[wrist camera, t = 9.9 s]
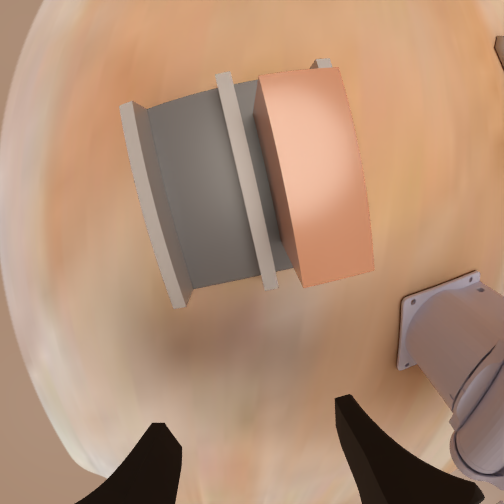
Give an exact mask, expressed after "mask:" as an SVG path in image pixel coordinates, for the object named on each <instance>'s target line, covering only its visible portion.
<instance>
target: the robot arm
mask: <svg viewBox="0 0 504 504" xmlns="http://www.w3.org/2000/svg"><path fill="white" fill-rule="evenodd" d="M413 299H414V300H413ZM412 300H413V302H411V301H412ZM416 364H417V365H418V366H419V367H420V369H421V370H422V371H423V372H424V374H425V375H426V376H427V378H428V379H429V380H430V382H431V383H432V385H433V386H434V387H435V389H436V390H437V391H438V393H439V394H440V395H441V397H442V398H443V400H444V401H445V402H446V404H447V405H448V407H449V408H450V409H451V411H452V412H453V416H452V417H451V419H450V420H449V423H450V424H451V426H452V427H453V429H454V430H455V431H454V432H453V434H452V436H451V439H450V453H451V456H452V459H453V461H454V463H455V465H456V466H457V468H458V469H459V470H460V471H461V472H462V473H463V474H464V475H466V476H467V477H469V478H471V479H474V480H478V481H486V482H489V483H491V484H493V485H495V486H496V487H498V488H499V489H500V490H504V296H502V295H501V294H499V293H498V292H496V291H494V290H493V289H491V288H490V287H488V286H486V285H485V284H483V283H482V282H480V272H478V271H474V272H471V273H469V274H466V275H464V276H462V277H459V278H456V279H454V280H451V281H449V282H446V283H443V284H441V285H438V286H435V287H433V288H430V289H427V290H424V291H421V292H419V293H416V294H413V295H410V296H407V297H405V298H404V299H403V300H402V304H401V325H400V339H399V350H398V359H397V369H398V370H400V371H401V370H404V369H406V368H409V367H411V366H414V365H416ZM335 416H336V428H337V432H338V436H339V440H340V443H341V447H342V449H343V452H344V454H345V457H346V459H347V462H348V464H349V467H350V469H351V472H352V474H353V477H354V479H355V482H356V484H357V487H358V490H359V493H360V497H361V501H362V504H479V503H481V502H482V501H483V500H484V498H485V497H484V495H483V493H482V491H481V490H480V489H479V487H478V486H477V485H476V484H475V483H474V482H471V481H467V480H464V479H461V478H458V477H455V476H453V475H450V474H448V473H446V472H443V471H441V470H439V469H437V468H435V467H433V466H431V465H429V464H427V463H426V462H424V461H422V460H421V459H419V458H417V457H416V456H414V455H413V454H411V453H410V452H408V451H407V450H405V449H404V448H403V447H401V446H400V445H399V444H398V443H396V442H395V441H394V440H393V439H392V438H391V437H389V436H388V435H387V434H386V433H385V432H384V431H383V430H382V429H381V428H380V427H379V426H378V425H377V424H376V423H375V422H374V421H373V420H372V419H371V418H370V417H369V416H368V415H367V414H366V413H365V411H364V410H363V409H362V408H361V407H360V406H359V404H358V403H357V402H356V400H355V399H354V398H353V396H352V395H350V394H348V395H345V396H341V397H338V398H335ZM181 466H182V446H181V445H180V444H179V442H178V441H177V440H176V438H175V437H174V436H173V434H172V433H171V432H170V430H169V429H168V427H167V426H166V424H165V423H152V424H151V425H150V427H149V428H148V429H147V431H146V432H145V433H144V435H143V436H142V437H141V439H140V440H139V442H138V443H137V444H136V446H135V447H134V448H133V450H132V451H131V452H130V454H129V455H128V456H127V457H126V459H125V460H124V461H123V462H122V464H121V465H120V466H119V467H118V468H117V469H116V470H115V472H114V473H113V474H112V475H111V476H110V477H109V478H108V479H107V480H106V481H105V482H104V483H103V484H101V485H100V486H99V487H98V488H97V489H95V490H94V491H93V492H91V493H90V494H89V495H88V496H86V497H85V498H83V499H82V500H80V501H78V502H77V503H75V504H175V501H176V495H177V489H178V484H179V478H180V472H181ZM497 504H504V503H503V501H499V502H498V503H497Z"/></svg>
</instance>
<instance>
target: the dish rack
mask: <svg viewBox="0 0 504 504" xmlns="http://www.w3.org/2000/svg"><path fill="white" fill-rule="evenodd" d="M331 67H332V64H331V61H330V58H329V59H316V60H315V61H314V63H313V64H312V66H311V67H310V69H316V68H331ZM215 77H216V81H217V86H218V88H216V89H212V90H208V91H204V92H200V93H197V94H193V95H189V96H186V97H182V98H179V99H176V100H173V101H170V102H166V103H163V104H160V105H157V106H154V107H152V108H149V109H146V108H144V107H142V106H141V105H139V104H137V103H135V102H133V101H130V102H128V103H125V104H123V105H120V106H119V108H120V114H121V120H122V125H123V131H124V136H125V141H126V146H127V151H128V155H129V160H130V164H131V169H132V173H133V177H134V182H135V186H136V190H137V194H138V198H139V201H140V205H141V209H142V213H143V216H144V220H145V223H146V227H147V230H148V234H149V237H150V240H151V244H152V247H153V250H154V253H155V256H156V260H157V263H158V266H159V269H160V272H161V275H162V278H163V281H164V284H165V286H166V289H167V292H168V295H169V298H170V300H171V303H172V306H173V309H177V308H183V307H186V306H187V304H188V301H189V299H190V296H191V294H192V291H193V289H196V288H201V287H206V286H211V285H216V284H221V283H226V282H231V281H235V280H240V279H245V278H249V277H254V276H259V275H261V276H262V281H263V285H264V290H265V291H268V290H272V289H277V288H279V286H278V281H277V276H276V272H277V271H281V270H286V269H290V268H294V267H293V265H292V263H291V261H290V259H289V257H288V255H287V253H286V251H285V249H284V247H283V245H282V243H281V240H280V235H279V230H278V225H277V220H276V215H275V210H274V206H273V201H272V196H271V191H270V187H269V182H268V178H267V173H266V169H265V164H264V160H263V155H262V151H261V146H260V142H259V138H258V134H257V129H256V125H255V121H254V117H253V109H254V102H255V95H256V89H257V82H258V80H254V81H249V82H243V83H238V84H233V80H232V76H231V72H230V71H229V72H224V73H220V74H215Z"/></svg>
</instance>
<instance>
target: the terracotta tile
mask: <svg viewBox="0 0 504 504" xmlns="http://www.w3.org/2000/svg"><path fill="white" fill-rule="evenodd" d="M253 117H254V121H255V125H256V129H257V134H258V138H259V142H260V146H261V151H262V155H263V160H264V164H265V169H266V173H267V178H268V182H269V187H270V191H271V196H272V201H273V206H274V210H275V215H276V220H277V225H278V230H279V235H280V240H281V243H282V245H283V247H284V249H285V251H286V253H287V255H288V257H289V259H290V261H291V263H292V265H293V267H294V269H295V272H296V274H297V276H298V278H299V280H300V282H301V284H302V286H303V288H306V287H310V286H315V285H319V284H323V283H327V282H331V281H335V280H339V279H343V278H347V277H351V276H355V275H359V274H362V273H366V272H370V271H374V256H373V243H372V233H371V223H370V214H369V206H368V199H367V192H366V185H365V179H364V173H363V167H362V161H361V156H360V151H359V146H358V141H357V136H356V131H355V127H354V123H353V118H352V114H351V110H350V106H349V102H348V98H347V95H346V91H345V87H344V84H343V80H342V77H341V74H340V70H339V67H331V68H316V69H304V70H295V71H286V72H279V73H272V74H265V75H259V76H258V82H257V89H256V95H255V102H254V109H253Z"/></svg>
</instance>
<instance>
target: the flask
mask: <svg viewBox="0 0 504 504" xmlns="http://www.w3.org/2000/svg"><path fill="white" fill-rule="evenodd" d="M495 49H496V51H497V53H498V55H499V58H500V60H501V62H502V65H503V67H504V36H497V41H496V46H495Z"/></svg>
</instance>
